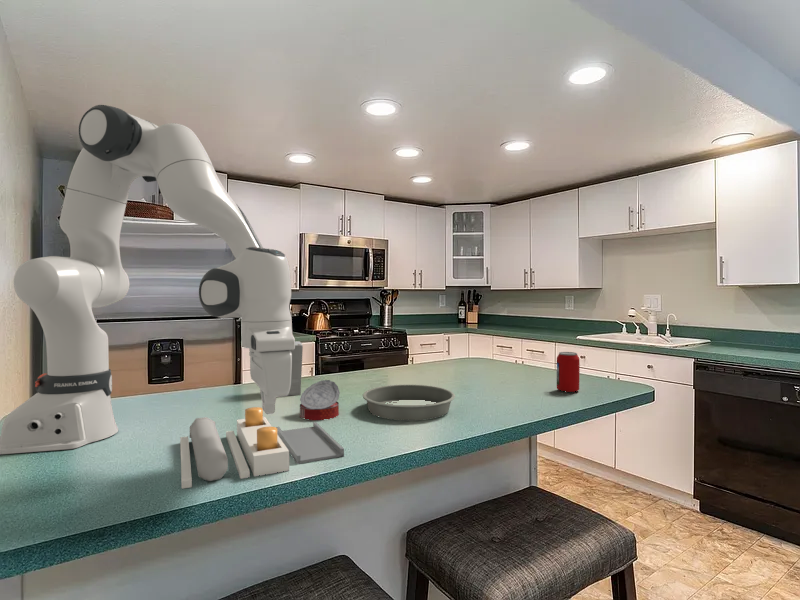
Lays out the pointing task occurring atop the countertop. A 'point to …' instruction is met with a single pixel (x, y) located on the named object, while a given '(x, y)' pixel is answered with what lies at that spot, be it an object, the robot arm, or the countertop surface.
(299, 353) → the skincare box
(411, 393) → the cake pan
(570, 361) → the beverage can
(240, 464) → the housing
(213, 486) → the countertop surface
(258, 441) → the front plunger
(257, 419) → the rear plunger
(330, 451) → the tray
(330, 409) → the canned food
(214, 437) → the tube
